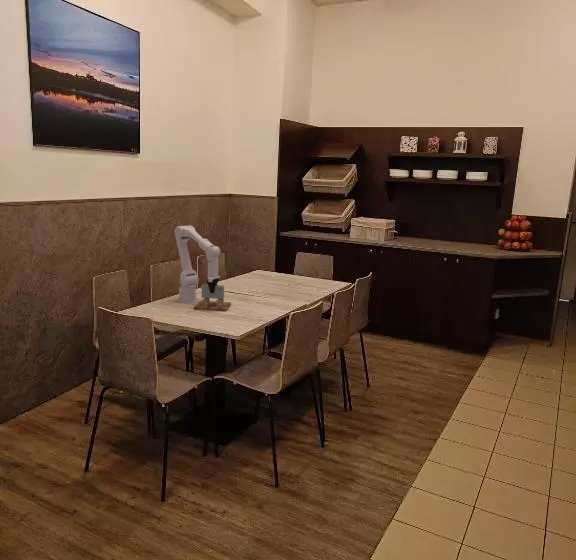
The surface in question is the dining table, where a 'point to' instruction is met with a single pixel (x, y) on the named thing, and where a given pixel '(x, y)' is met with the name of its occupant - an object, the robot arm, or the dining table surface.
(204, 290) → the grey block
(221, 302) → the cabinet base
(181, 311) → the dining table surface
